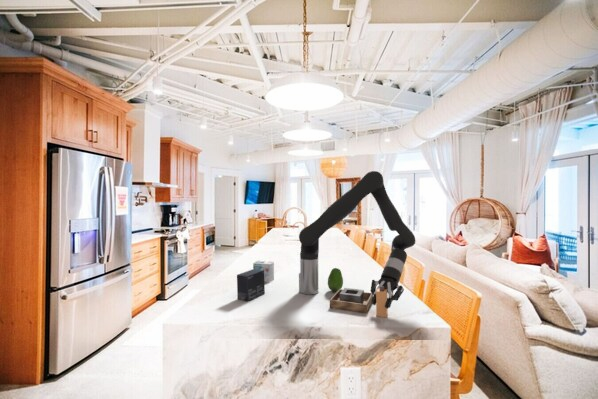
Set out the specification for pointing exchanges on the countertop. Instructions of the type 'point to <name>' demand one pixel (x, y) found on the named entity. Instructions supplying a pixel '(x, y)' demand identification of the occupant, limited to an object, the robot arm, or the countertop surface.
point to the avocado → (335, 280)
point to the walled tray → (351, 305)
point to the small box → (250, 284)
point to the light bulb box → (265, 269)
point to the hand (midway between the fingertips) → (379, 305)
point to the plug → (381, 302)
